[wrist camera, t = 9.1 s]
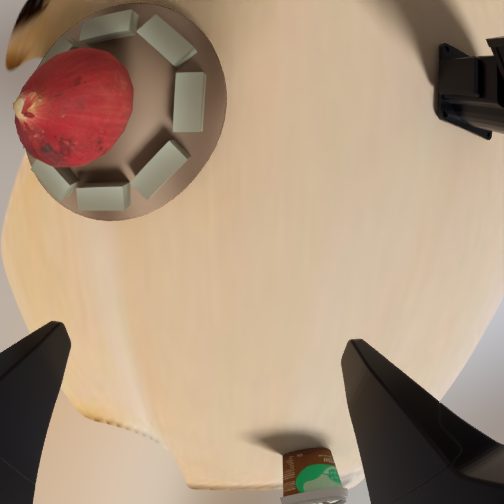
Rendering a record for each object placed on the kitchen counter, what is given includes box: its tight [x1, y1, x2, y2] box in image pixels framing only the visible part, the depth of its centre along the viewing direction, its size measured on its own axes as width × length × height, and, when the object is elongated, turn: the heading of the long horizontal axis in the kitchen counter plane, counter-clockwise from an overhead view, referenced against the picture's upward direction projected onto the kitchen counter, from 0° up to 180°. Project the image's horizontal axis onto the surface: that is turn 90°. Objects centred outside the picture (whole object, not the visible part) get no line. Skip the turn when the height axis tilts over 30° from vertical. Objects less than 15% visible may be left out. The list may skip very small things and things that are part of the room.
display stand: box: [23, 3, 227, 221], centre depth 14 cm, size 14×14×3 cm
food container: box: [280, 448, 348, 504], centre depth 32 cm, size 12×6×10 cm, turn 51°
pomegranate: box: [13, 47, 134, 168], centre depth 10 cm, size 6×6×8 cm
